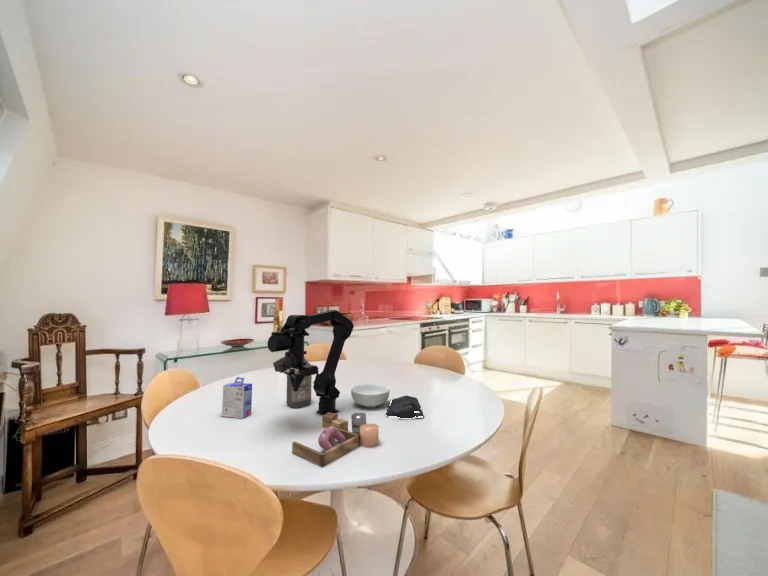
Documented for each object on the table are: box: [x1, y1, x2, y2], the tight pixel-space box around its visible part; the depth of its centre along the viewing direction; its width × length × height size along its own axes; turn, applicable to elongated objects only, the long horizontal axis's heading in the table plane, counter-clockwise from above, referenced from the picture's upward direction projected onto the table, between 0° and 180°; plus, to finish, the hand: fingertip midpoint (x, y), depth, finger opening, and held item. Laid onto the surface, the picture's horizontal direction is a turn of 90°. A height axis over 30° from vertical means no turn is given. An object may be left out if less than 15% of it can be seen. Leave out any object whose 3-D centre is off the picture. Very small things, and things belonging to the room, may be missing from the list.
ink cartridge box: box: [221, 376, 253, 419], centre depth 122 cm, size 10×6×14 cm, turn 78°
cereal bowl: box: [350, 383, 390, 408], centre depth 135 cm, size 17×17×7 cm
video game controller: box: [317, 426, 346, 452], centre depth 95 cm, size 10×5×7 cm, turn 166°
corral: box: [291, 426, 361, 468], centre depth 94 cm, size 16×13×3 cm
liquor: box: [286, 357, 313, 409], centre depth 136 cm, size 9×9×30 cm
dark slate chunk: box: [385, 395, 424, 418], centre depth 129 cm, size 15×22×5 cm
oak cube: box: [332, 417, 349, 431], centre depth 106 cm, size 4×4×4 cm
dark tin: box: [351, 412, 367, 435], centre depth 105 cm, size 5×5×6 cm
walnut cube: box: [321, 412, 339, 429], centre depth 112 cm, size 4×4×4 cm
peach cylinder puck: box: [360, 423, 380, 448], centre depth 98 cm, size 6×6×5 cm
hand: (295, 391), depth 113 cm, fingers closed
